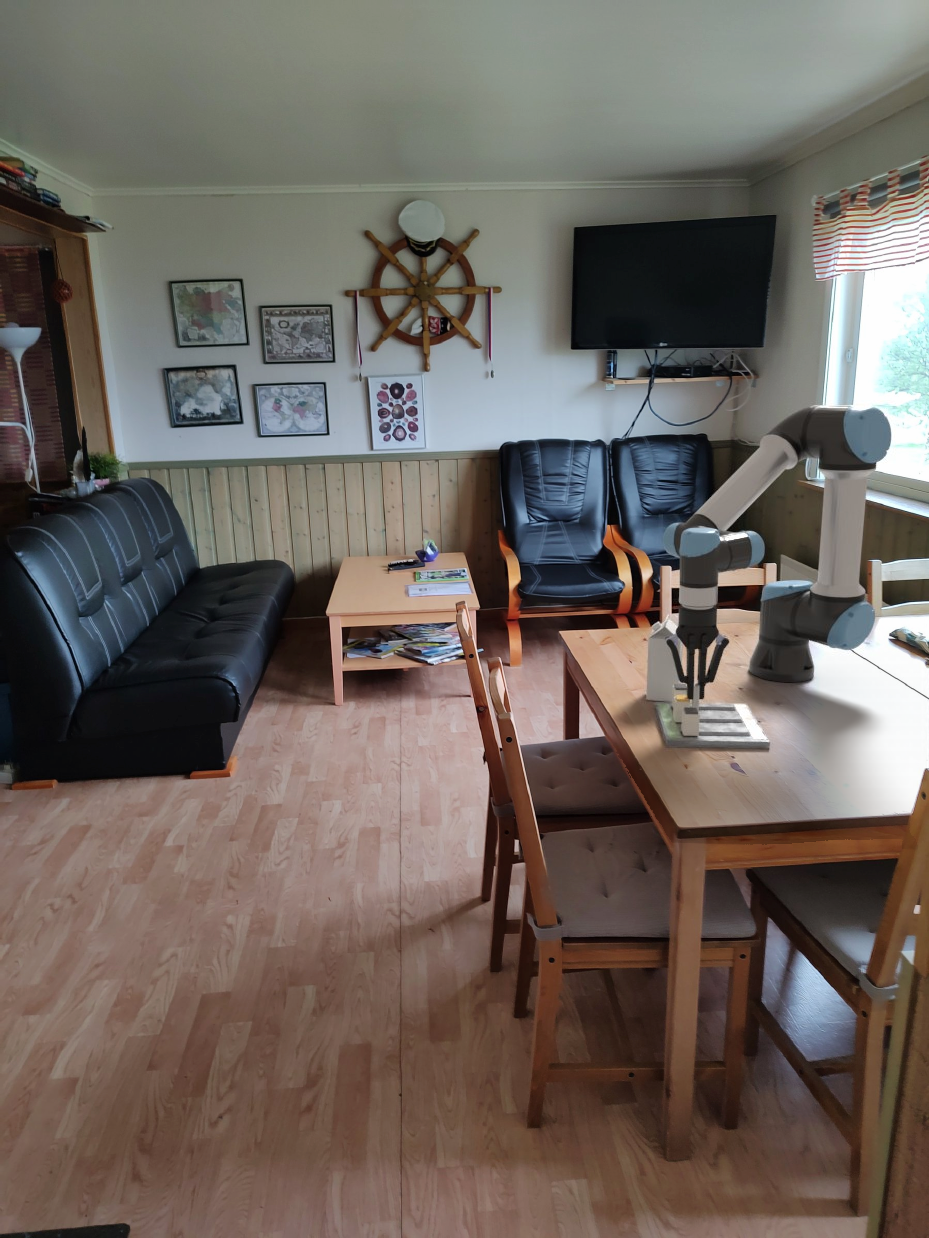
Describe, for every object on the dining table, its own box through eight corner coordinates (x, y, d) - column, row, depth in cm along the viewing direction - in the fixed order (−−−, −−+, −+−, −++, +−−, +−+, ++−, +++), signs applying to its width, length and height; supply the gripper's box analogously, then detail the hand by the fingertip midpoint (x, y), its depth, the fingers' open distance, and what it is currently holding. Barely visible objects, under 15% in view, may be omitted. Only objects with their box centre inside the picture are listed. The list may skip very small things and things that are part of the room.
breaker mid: (687, 716, 181) (688, 694, 180) (689, 722, 179) (690, 699, 177) (672, 716, 182) (673, 694, 180) (674, 722, 179) (676, 699, 178)
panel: (745, 709, 189) (746, 702, 189) (769, 748, 169) (770, 741, 169) (654, 708, 191) (654, 701, 191) (666, 746, 171) (667, 739, 171)
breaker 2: (696, 729, 175) (697, 707, 173) (698, 735, 172) (699, 712, 170) (681, 729, 175) (682, 706, 174) (683, 735, 172) (684, 712, 171)
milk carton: (680, 693, 200) (684, 615, 195) (677, 703, 194) (681, 623, 189) (649, 690, 202) (652, 613, 197) (646, 700, 196) (648, 621, 191)
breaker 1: (685, 704, 188) (686, 683, 187) (687, 709, 185) (688, 688, 184) (671, 704, 188) (672, 683, 187) (673, 709, 186) (674, 688, 184)
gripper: (726, 599, 176) (722, 706, 182) (663, 600, 177) (661, 707, 184) (733, 608, 169) (729, 719, 175) (668, 610, 170) (666, 720, 176)
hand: (694, 713), depth 179 cm, fingers closed
